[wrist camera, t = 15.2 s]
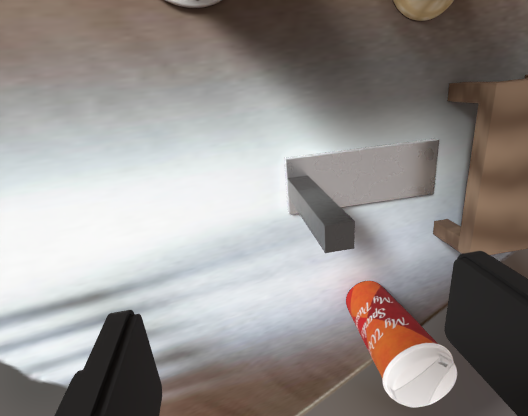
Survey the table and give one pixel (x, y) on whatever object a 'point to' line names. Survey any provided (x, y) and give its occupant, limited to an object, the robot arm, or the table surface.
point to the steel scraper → (355, 184)
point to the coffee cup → (400, 347)
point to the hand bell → (422, 8)
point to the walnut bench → (493, 170)
